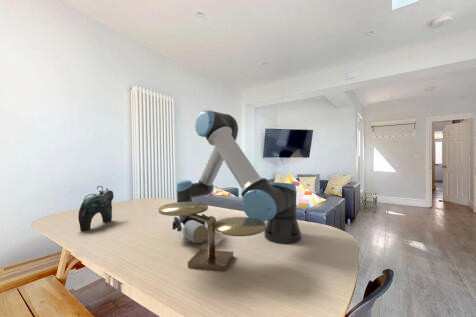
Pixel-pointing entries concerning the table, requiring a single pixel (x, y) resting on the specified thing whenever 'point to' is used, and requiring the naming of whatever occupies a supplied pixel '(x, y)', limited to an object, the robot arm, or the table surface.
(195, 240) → the ceramic mug
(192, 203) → the balance
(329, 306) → the table surface
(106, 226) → the table surface
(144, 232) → the table surface
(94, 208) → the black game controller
